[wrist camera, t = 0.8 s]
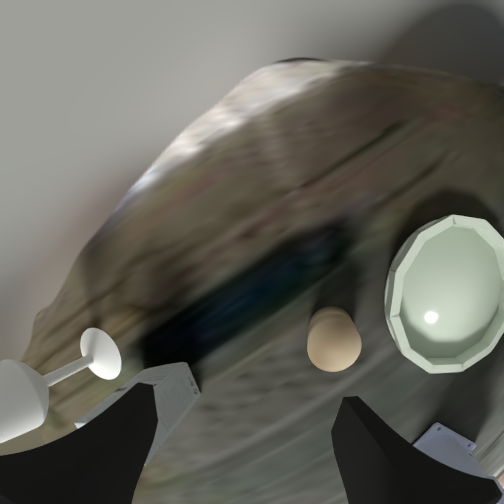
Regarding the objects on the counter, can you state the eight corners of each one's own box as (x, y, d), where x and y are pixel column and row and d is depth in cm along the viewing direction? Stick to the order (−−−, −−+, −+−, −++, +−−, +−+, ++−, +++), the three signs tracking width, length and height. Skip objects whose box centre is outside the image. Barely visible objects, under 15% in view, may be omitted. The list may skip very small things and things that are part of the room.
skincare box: (186, 359, 28) (119, 418, 16) (203, 396, 28) (149, 467, 16) (141, 369, 29) (69, 418, 17) (157, 403, 29) (96, 462, 17)
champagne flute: (88, 316, 30) (-91, 372, 7) (128, 352, 29) (-53, 451, 6) (75, 355, 31) (-75, 420, 8) (112, 389, 30) (-35, 485, 7)
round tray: (520, 271, 21) (534, 273, 18) (450, 384, 23) (459, 395, 20) (434, 186, 23) (445, 181, 20) (353, 316, 25) (357, 324, 22)
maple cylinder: (361, 321, 24) (372, 340, 20) (334, 356, 25) (338, 380, 20) (326, 297, 25) (329, 310, 20) (299, 333, 26) (296, 353, 21)
